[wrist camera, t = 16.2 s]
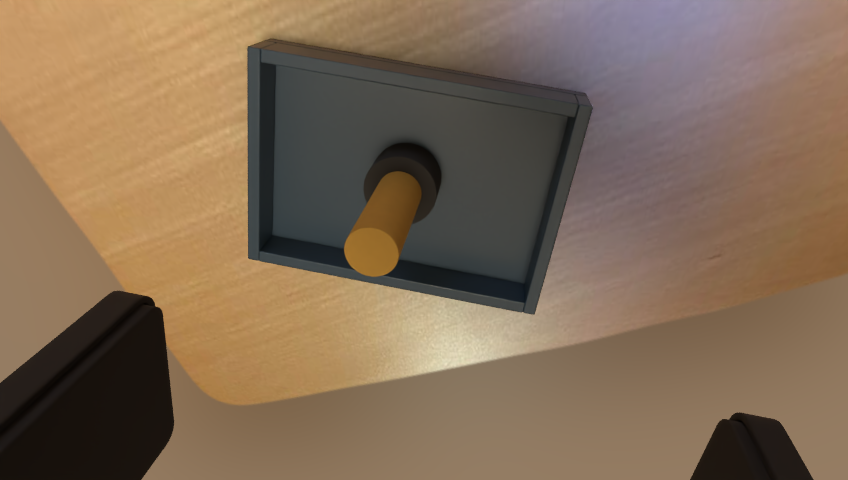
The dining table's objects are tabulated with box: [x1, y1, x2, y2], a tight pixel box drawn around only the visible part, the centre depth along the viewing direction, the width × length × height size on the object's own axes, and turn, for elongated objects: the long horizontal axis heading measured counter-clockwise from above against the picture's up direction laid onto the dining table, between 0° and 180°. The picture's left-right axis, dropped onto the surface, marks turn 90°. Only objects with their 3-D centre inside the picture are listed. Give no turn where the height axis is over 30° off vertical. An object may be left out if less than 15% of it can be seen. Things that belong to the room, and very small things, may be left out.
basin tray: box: [248, 39, 593, 315], centre depth 32 cm, size 17×12×3 cm
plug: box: [344, 143, 441, 277], centre depth 28 cm, size 4×4×10 cm
